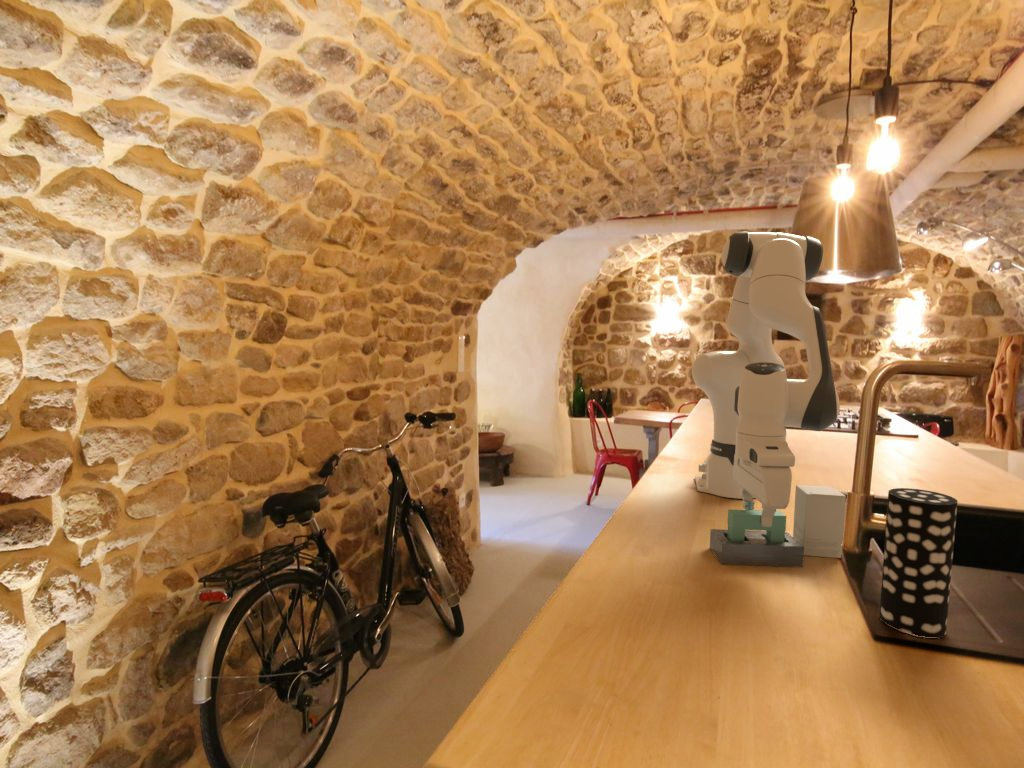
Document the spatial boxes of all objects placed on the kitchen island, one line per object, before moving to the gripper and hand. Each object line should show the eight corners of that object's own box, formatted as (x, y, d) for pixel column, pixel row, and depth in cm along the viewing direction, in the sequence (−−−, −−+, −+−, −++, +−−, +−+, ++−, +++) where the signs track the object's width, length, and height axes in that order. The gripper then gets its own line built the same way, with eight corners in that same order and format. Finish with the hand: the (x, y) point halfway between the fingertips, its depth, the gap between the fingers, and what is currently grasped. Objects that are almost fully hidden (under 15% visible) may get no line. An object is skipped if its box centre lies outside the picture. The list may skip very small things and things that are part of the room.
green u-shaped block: (726, 553, 112) (728, 509, 112) (777, 555, 112) (780, 511, 111) (730, 559, 109) (732, 514, 109) (783, 561, 109) (786, 516, 108)
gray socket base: (709, 548, 115) (710, 529, 115) (785, 550, 114) (786, 531, 114) (721, 564, 107) (722, 543, 107) (802, 567, 106) (804, 546, 106)
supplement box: (843, 559, 110) (847, 496, 109) (802, 555, 112) (805, 493, 110) (829, 545, 117) (833, 485, 116) (791, 542, 119) (794, 483, 118)
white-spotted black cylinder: (886, 605, 91) (895, 485, 90) (950, 624, 86) (961, 496, 84) (873, 623, 86) (882, 495, 84) (940, 645, 80) (952, 508, 78)
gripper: (726, 436, 119) (723, 500, 120) (762, 458, 99) (758, 535, 100) (757, 437, 119) (754, 501, 120) (799, 459, 98) (795, 536, 100)
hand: (756, 517), depth 110 cm, fingers open, 8 cm apart
